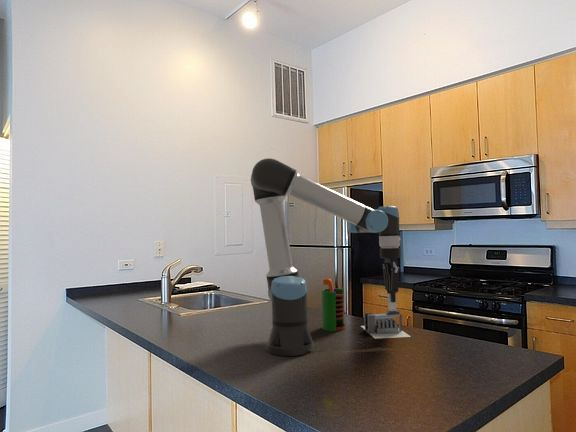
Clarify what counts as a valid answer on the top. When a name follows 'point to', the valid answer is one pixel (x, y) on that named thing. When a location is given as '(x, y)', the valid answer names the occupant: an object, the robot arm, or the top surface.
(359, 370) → the top surface
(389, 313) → the grey-blue slender bar
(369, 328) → the mount
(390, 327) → the heatsink
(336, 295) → the motor
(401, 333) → the board
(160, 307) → the top surface
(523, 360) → the top surface
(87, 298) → the top surface
